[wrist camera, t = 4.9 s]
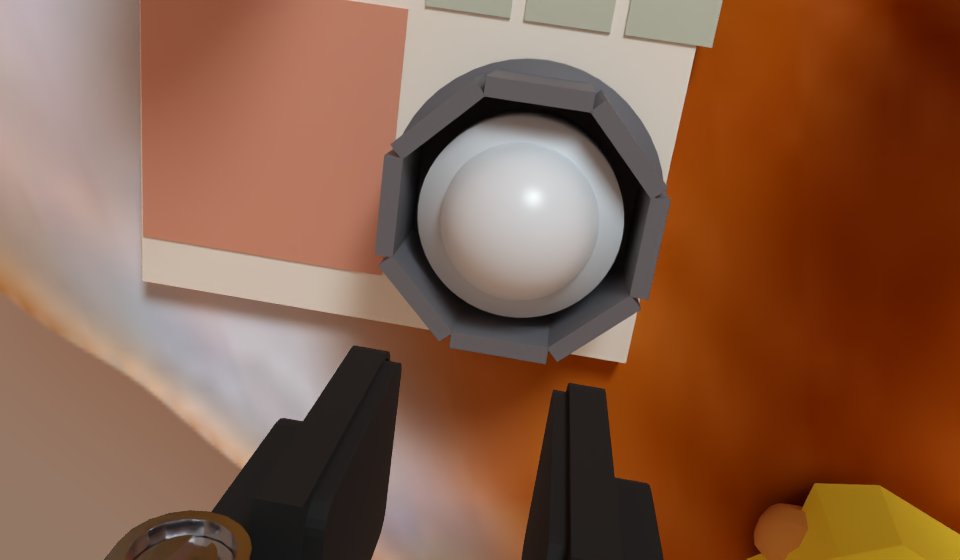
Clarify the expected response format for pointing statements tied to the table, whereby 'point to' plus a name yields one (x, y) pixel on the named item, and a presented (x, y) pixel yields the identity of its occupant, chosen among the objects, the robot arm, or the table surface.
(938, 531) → the faceted yellow knobbed lump
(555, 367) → the table surface
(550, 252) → the dome
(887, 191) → the table surface
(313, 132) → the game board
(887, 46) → the table surface
